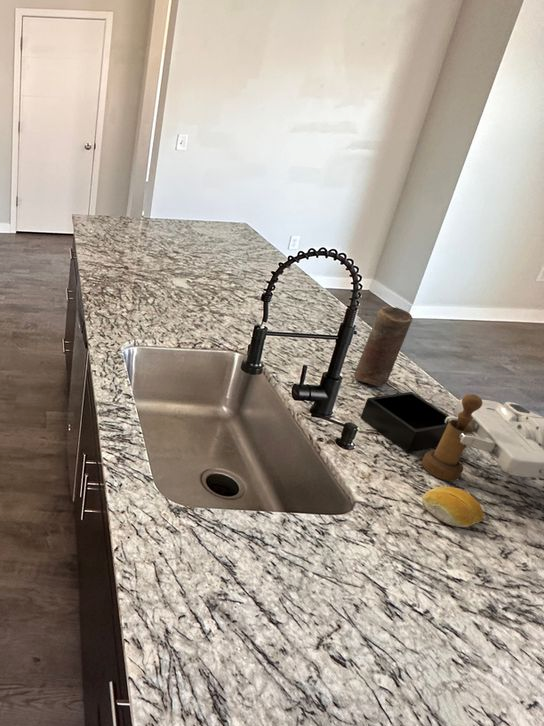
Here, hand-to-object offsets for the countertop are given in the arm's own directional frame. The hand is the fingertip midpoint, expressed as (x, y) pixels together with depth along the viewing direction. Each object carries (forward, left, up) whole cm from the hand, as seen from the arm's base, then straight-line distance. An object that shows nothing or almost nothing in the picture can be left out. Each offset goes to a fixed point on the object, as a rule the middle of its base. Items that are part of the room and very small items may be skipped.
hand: (453, 429), depth 105 cm
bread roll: (+8, +10, -10) cm, 16 cm away
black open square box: (-5, -12, -10) cm, 16 cm away
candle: (-14, -31, -10) cm, 35 cm away
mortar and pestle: (-1, 0, -10) cm, 10 cm away
